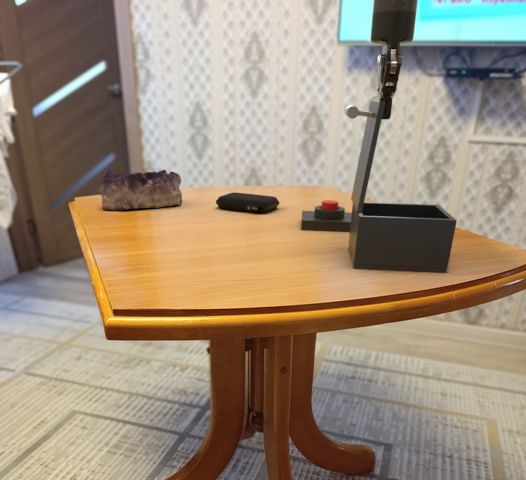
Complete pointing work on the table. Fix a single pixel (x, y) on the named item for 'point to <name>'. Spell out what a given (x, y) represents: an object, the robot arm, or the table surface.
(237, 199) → the carrying case
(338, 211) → the button block
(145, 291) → the table surface
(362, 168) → the hinged box lid
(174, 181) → the geode
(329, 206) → the red button
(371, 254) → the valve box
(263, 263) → the table surface
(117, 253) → the table surface
